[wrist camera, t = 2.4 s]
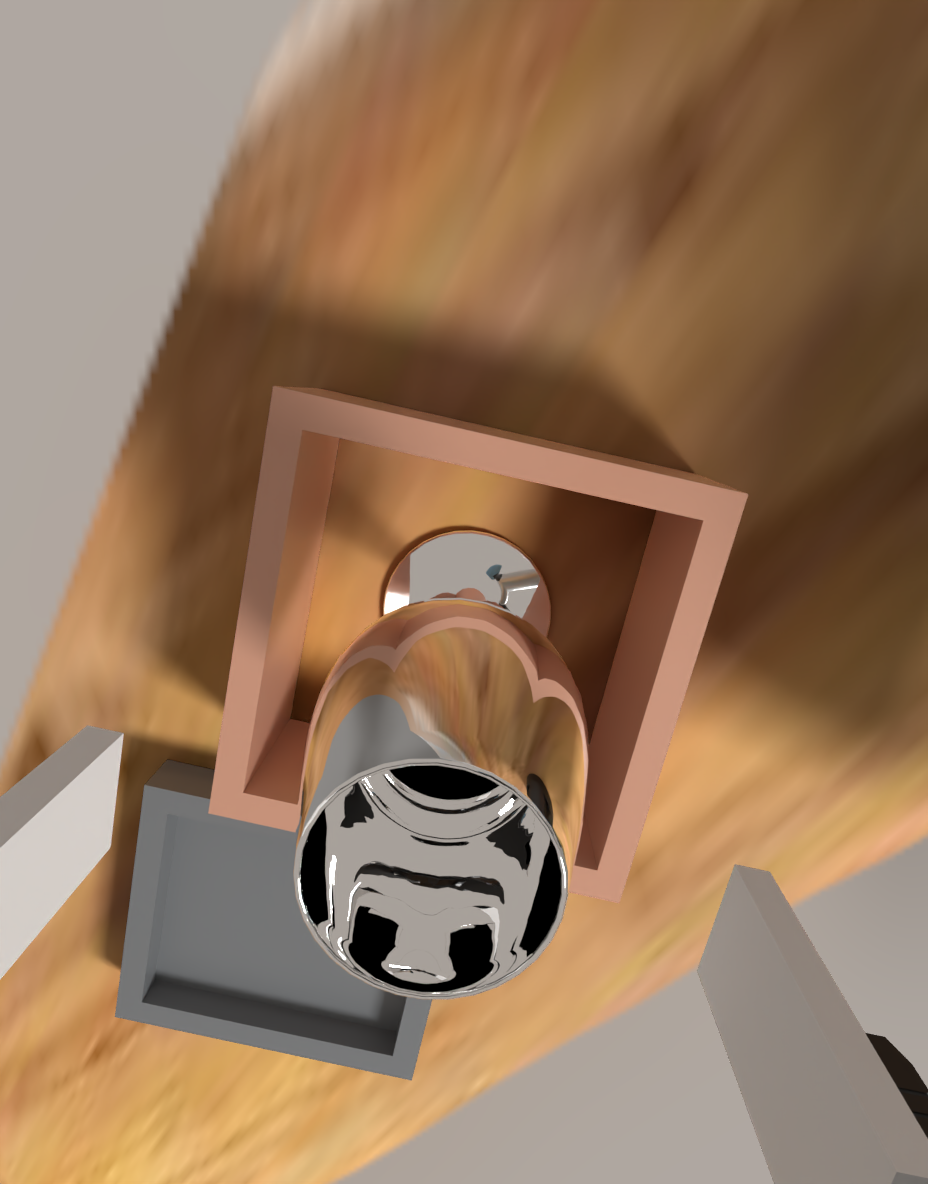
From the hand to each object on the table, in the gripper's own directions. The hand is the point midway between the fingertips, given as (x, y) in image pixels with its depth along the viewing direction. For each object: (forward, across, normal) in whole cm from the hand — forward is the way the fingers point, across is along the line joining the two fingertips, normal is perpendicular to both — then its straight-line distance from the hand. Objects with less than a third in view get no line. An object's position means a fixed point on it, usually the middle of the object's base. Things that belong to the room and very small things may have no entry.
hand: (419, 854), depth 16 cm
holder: (+19, 0, 0) cm, 19 cm away
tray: (+19, +4, +17) cm, 26 cm away
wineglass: (+19, 0, 0) cm, 19 cm away
